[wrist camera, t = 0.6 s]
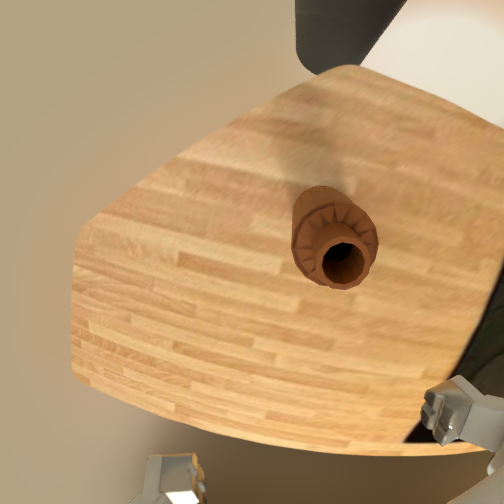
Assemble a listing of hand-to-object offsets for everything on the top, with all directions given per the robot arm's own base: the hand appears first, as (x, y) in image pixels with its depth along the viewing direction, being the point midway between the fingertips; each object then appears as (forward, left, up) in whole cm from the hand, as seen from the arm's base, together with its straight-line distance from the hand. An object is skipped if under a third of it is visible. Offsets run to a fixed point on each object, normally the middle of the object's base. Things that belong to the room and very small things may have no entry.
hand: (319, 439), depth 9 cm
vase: (-2, +2, -28) cm, 28 cm away
